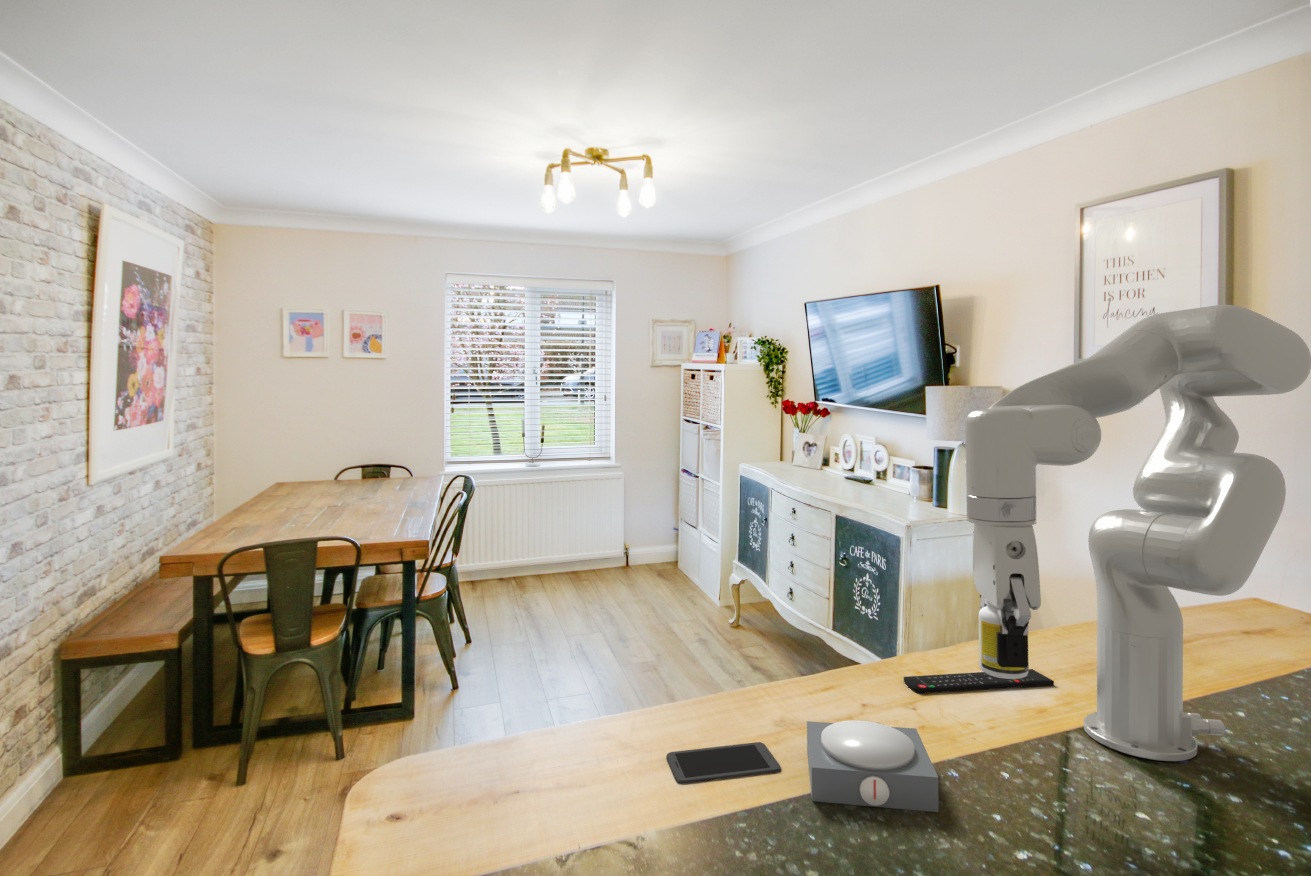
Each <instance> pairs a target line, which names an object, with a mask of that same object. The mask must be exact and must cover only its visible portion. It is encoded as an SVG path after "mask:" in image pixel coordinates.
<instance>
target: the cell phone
mask: <svg viewBox="0 0 1311 876" xmlns="http://www.w3.org/2000/svg"><path fill="white" fill-rule="evenodd" d="M665 759H666V762H667V764H668V766H669V769H670V772H671V773H672V775H673V778H674V780H675V782H676V783H677V784H679V785H681V784H682V785H685V784H694V783H702V782H710V781H717V780H725V779H734V778H736V779H737V778H743V777H751V776H759V775H760V776H761V775H767V774H774V773H780V772H782V766H781V764H780V763H779V762H778V761H777V759H776V758H775V756H774V755H773V754H772V753H771V751H770V750H769V748H768V747H767V746H766V744H765V743H763V742H761V741H759V742H756V741H755V742H747V743H746V742H745V743H738V744H731V745H730V744H728V745H721V746H720V745H719V746H714V747H712V746H711V747H703V748H695V749H686V750H685V749H684V750H677V751H671V752H668V753H667V754H666V758H665Z"/></svg>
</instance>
